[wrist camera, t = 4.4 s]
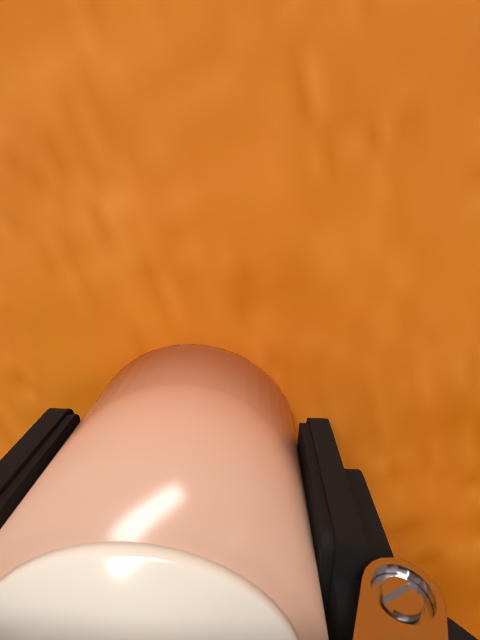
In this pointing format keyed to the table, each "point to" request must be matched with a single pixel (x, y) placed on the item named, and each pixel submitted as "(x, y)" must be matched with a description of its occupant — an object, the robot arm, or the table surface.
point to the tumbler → (168, 514)
